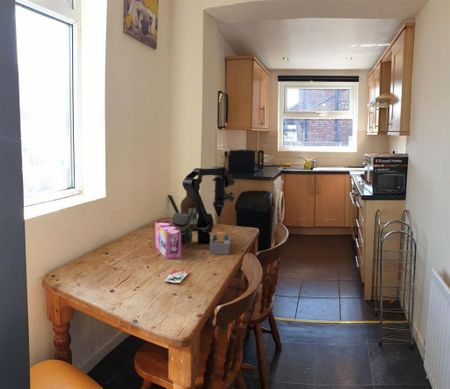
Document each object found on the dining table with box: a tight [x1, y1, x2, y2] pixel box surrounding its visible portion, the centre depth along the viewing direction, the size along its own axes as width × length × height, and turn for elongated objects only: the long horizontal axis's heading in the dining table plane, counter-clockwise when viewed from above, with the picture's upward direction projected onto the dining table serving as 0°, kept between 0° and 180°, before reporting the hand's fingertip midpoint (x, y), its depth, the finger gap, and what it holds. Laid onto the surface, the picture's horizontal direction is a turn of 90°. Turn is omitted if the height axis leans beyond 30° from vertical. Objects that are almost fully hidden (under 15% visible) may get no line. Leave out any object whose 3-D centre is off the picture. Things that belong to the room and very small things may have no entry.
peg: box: [216, 231, 225, 243], centre depth 221 cm, size 4×4×9 cm
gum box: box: [154, 220, 182, 260], centre depth 215 cm, size 24×8×14 cm, turn 23°
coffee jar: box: [171, 212, 193, 245], centre depth 226 cm, size 10×8×19 cm
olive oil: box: [180, 191, 198, 232], centre depth 261 cm, size 11×11×25 cm
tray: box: [209, 233, 231, 255], centre depth 221 cm, size 10×18×6 cm, turn 177°
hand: (219, 215), depth 243 cm, fingers open, 9 cm apart
